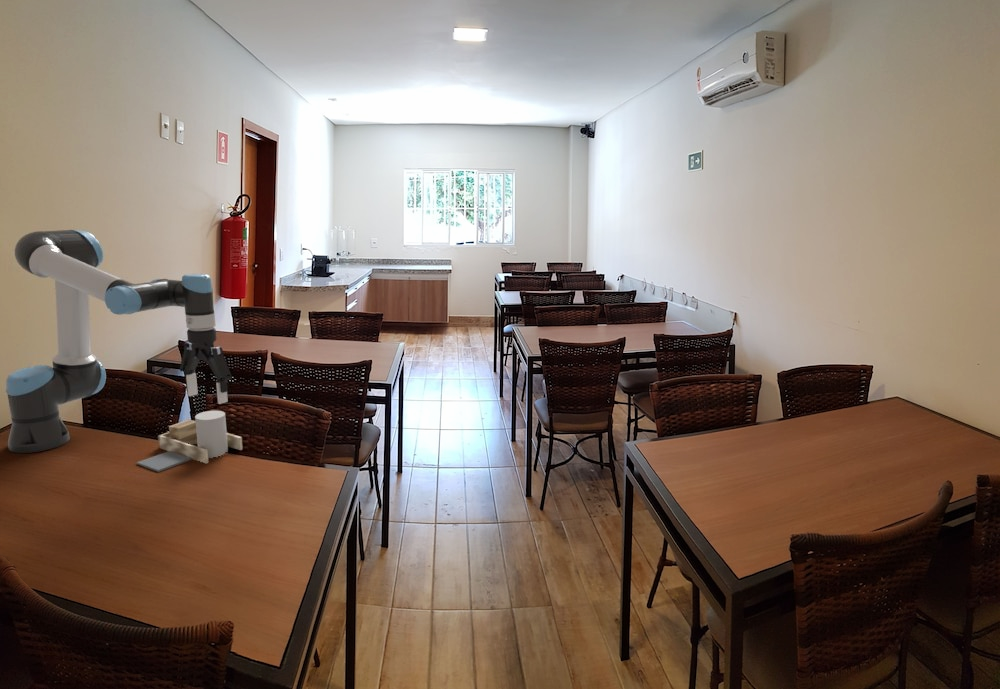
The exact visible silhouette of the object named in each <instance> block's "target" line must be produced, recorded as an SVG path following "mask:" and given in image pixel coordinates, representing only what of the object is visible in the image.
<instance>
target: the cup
mask: <svg viewBox="0 0 1000 689" xmlns="http://www.w3.org/2000/svg"><path fill="white" fill-rule="evenodd" d="M194 418H195V419H194V421H195V422H196V433H197V443H196V444H197V447H200V448H203V449H206V450H207V451H208V459H214V458H213V457H216V458H219V457H218V456H220V457H222V456H221V455H223V454H224V453H225V452H227V453H228V452H229V447H228V444H227V433H228V431H227V421H226V420H227V418H226V412H224V411H222V410H207V411H202V412H200V413H197V414H196V415H195V416H194ZM223 456H224V455H223Z"/></svg>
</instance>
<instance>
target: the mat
mask: <svg viewBox="0 0 1000 689" xmlns="http://www.w3.org/2000/svg"><path fill="white" fill-rule="evenodd" d="M191 460H192V459H191V458H190V457H187V456H184V455H181V454H178V453H175V452H172V451H166V452H162V453H159V454H157V455H154V456H151V457H148V458H146V459H142V460H139V461H136V464H137V465H138V466H141V467H144V468H146V469H149V470H152V471H155V472H157V473H161V472H163V471H165V470H169V469H170V468H173V467H176V466H178V465H182V464H184V463H186V462H189V461H191Z"/></svg>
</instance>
